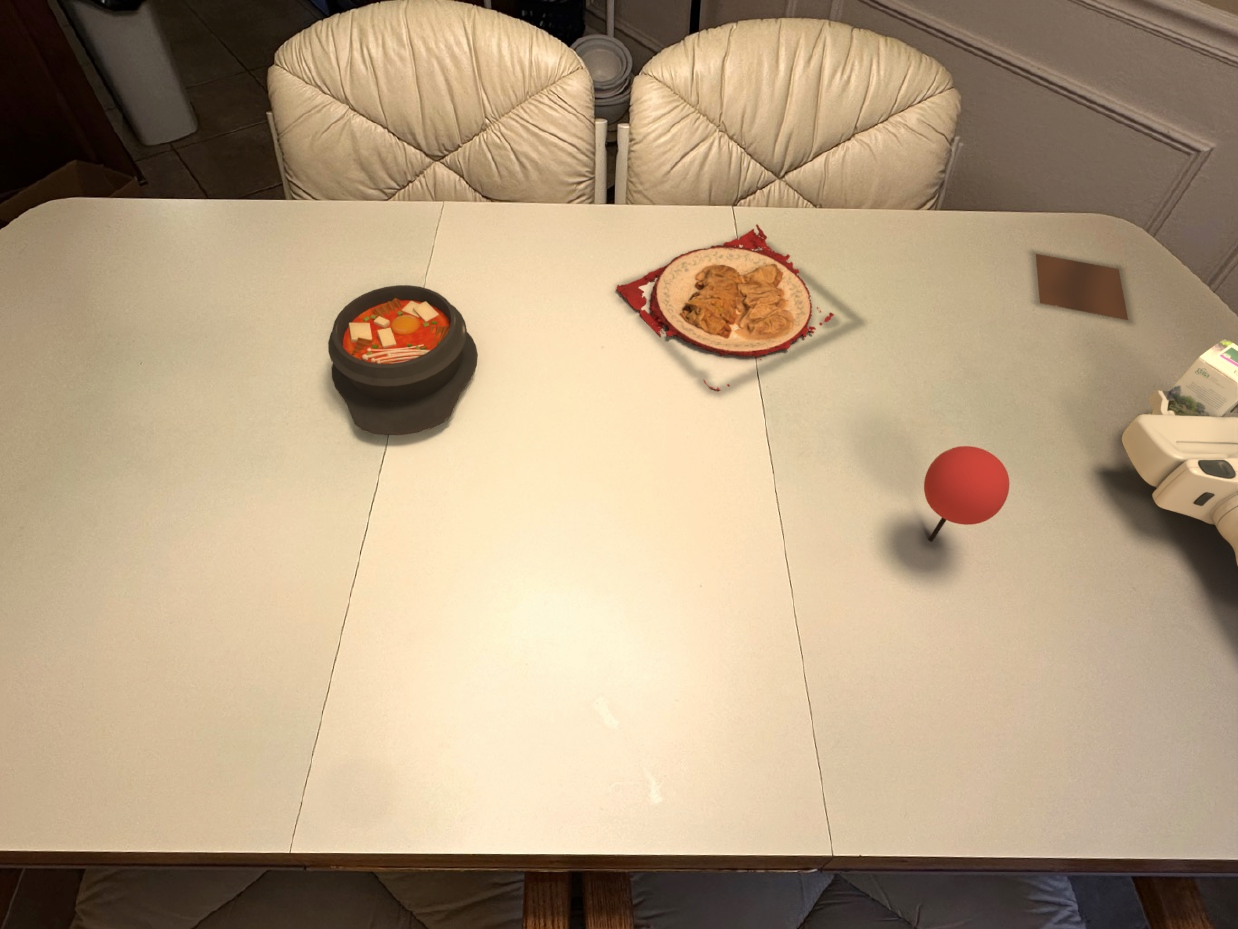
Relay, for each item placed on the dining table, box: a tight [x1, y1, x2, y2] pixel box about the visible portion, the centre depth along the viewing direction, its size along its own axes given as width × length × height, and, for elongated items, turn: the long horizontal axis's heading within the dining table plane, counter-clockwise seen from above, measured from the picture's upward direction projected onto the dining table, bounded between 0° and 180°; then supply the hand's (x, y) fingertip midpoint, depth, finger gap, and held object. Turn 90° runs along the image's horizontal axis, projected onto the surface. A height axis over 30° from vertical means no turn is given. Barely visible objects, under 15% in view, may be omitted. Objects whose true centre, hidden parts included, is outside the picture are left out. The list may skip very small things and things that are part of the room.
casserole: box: [327, 284, 479, 436], centre depth 94 cm, size 25×19×8 cm
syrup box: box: [1148, 338, 1238, 417], centre depth 87 cm, size 6×6×14 cm
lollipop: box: [923, 445, 1010, 543], centre depth 77 cm, size 8×8×15 cm
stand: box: [1035, 253, 1129, 321], centre depth 110 cm, size 12×12×1 cm
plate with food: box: [616, 223, 835, 391], centre depth 105 cm, size 24×26×3 cm
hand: (1196, 395), depth 86 cm, fingers closed on syrup box, 7 cm apart
